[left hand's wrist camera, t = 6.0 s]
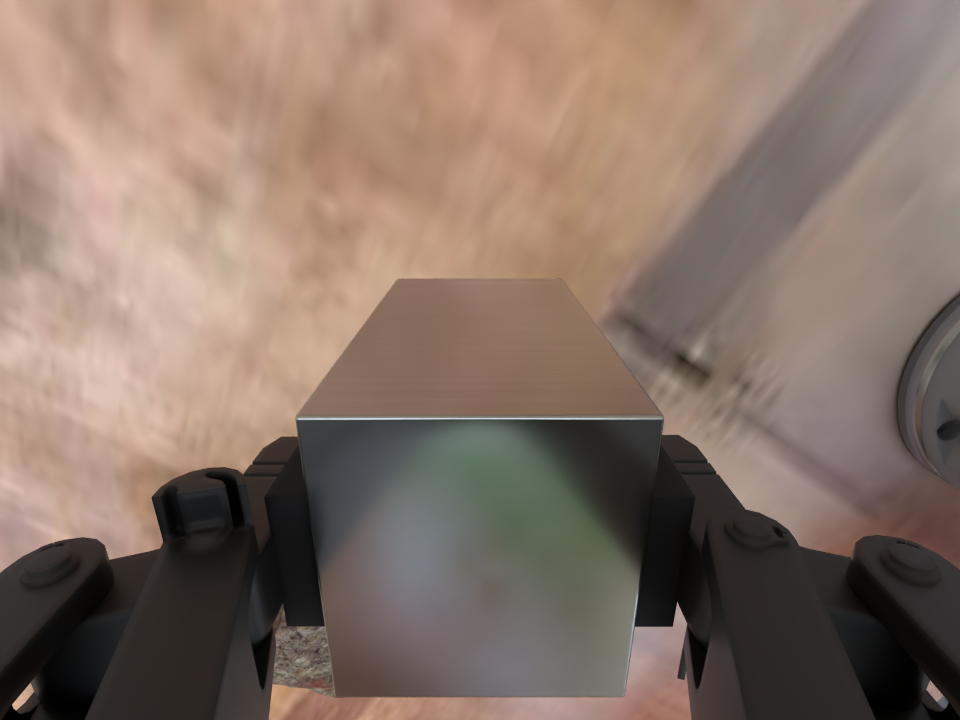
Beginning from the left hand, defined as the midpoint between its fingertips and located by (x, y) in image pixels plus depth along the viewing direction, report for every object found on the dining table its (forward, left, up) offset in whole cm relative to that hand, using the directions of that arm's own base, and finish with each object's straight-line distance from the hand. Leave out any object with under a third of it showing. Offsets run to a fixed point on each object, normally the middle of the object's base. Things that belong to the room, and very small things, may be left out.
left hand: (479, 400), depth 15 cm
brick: (0, 0, -3) cm, 3 cm away
